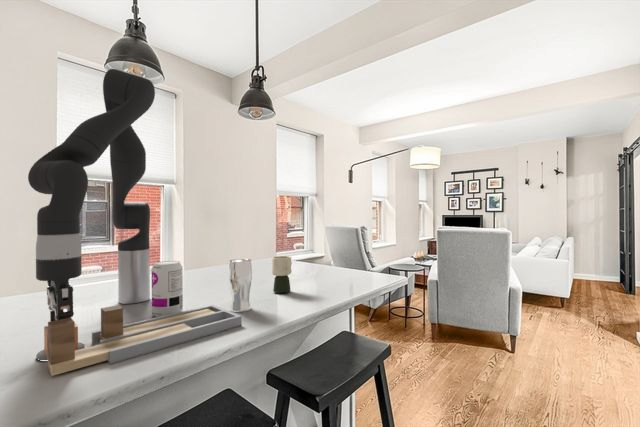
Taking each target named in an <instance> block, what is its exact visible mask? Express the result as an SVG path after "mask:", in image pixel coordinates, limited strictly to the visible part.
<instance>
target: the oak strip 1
mask: <svg viewBox="0 0 640 427" xmlns="http://www.w3.org/2000/svg"><path fill="white" fill-rule="evenodd" d="M75 324H76V322H75V321H74V319H73V318H72V317H71V318H67V319H61V320H56V321H51V322H50V321H47V326H48V358H47V360H48V362H47V367H48V371H49V373H50V375H51V377H53V376H57V375H60V374H63V373H67V372H71V371H74V370H77V369H81V368H84V367H88V366H91V365H95V364H99V363H103V362H107V360H109V350H111V349H115V348H119V347H123V346H126V345H130V344H134V343H137V342H141V341H145V340H149V339H152V338H156V337H160V336H164V335H167V334H171V333H175V332H179V331H182V330H186V329H190V328H191V327H189V326H187V325H186V324H184V323H183V324H179V325H175V326H171V327H167V328H163V329H159V330H155V331H151V332H147V333H143V334H139V335H135V336H131V337H127V338H123V339H119V340H115V341H111V342H107V343H103V344H99V345H95V346H94V345H92V346H87V347H85V348H83V349H80V350H76V351H75Z"/></svg>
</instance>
